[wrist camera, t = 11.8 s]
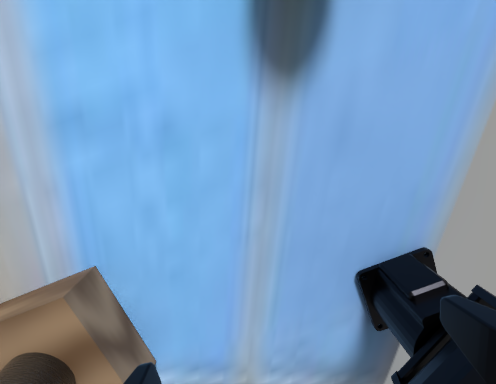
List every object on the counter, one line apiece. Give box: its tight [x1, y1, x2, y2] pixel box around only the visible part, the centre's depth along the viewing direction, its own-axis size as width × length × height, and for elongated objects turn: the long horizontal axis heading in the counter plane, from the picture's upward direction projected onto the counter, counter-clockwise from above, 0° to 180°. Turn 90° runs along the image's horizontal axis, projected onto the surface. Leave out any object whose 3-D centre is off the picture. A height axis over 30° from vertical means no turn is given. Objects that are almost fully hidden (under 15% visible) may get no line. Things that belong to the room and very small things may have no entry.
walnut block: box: [0, 266, 156, 384], centre depth 21 cm, size 11×11×4 cm
